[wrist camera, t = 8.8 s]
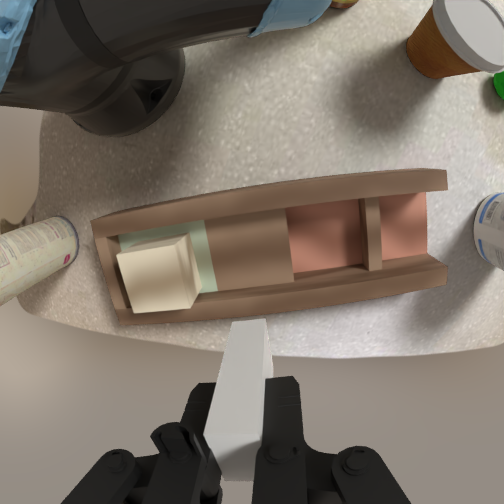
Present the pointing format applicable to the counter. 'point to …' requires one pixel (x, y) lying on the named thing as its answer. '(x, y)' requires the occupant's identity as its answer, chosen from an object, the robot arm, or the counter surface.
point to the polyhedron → (499, 83)
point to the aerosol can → (35, 254)
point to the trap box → (287, 243)
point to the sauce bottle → (342, 3)
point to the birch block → (160, 273)
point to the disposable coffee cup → (458, 39)
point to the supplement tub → (491, 229)
